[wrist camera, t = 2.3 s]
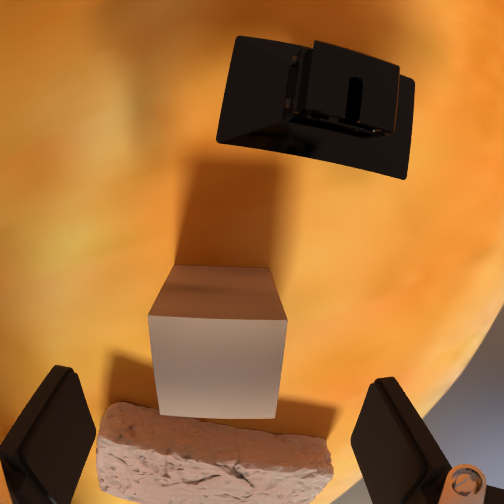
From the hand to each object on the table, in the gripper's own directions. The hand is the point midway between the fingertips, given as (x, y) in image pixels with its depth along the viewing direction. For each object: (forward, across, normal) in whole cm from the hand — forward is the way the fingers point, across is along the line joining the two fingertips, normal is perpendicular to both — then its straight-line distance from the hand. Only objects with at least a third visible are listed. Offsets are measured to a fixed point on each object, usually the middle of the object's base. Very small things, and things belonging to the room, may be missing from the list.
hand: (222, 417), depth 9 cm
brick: (+9, +1, +14) cm, 16 cm away
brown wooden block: (+9, 0, +1) cm, 9 cm away
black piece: (+10, -5, -11) cm, 15 cm away
